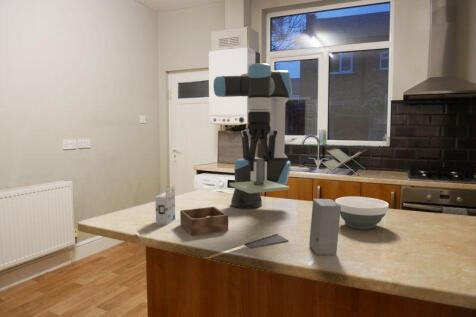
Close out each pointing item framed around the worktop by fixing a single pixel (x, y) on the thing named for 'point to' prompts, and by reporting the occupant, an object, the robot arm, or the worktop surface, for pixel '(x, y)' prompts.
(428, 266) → the worktop surface
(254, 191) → the lid
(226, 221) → the walnut box
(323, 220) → the skincare box
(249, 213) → the worktop surface
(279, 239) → the grey mat
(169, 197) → the ink box
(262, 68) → the robot arm
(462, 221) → the worktop surface
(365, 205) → the bowl
